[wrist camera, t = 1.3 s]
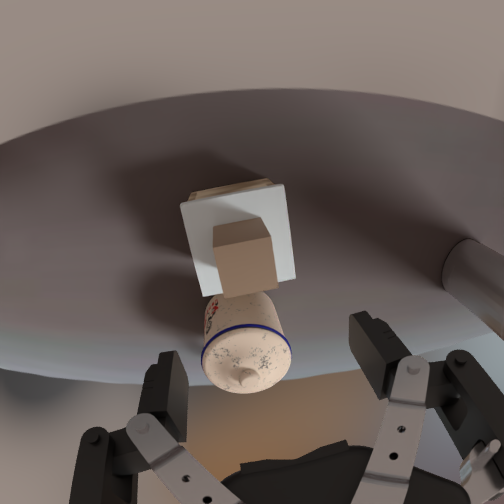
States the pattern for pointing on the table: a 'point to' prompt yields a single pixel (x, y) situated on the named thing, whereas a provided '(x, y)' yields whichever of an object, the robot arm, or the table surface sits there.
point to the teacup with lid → (244, 343)
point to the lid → (240, 241)
